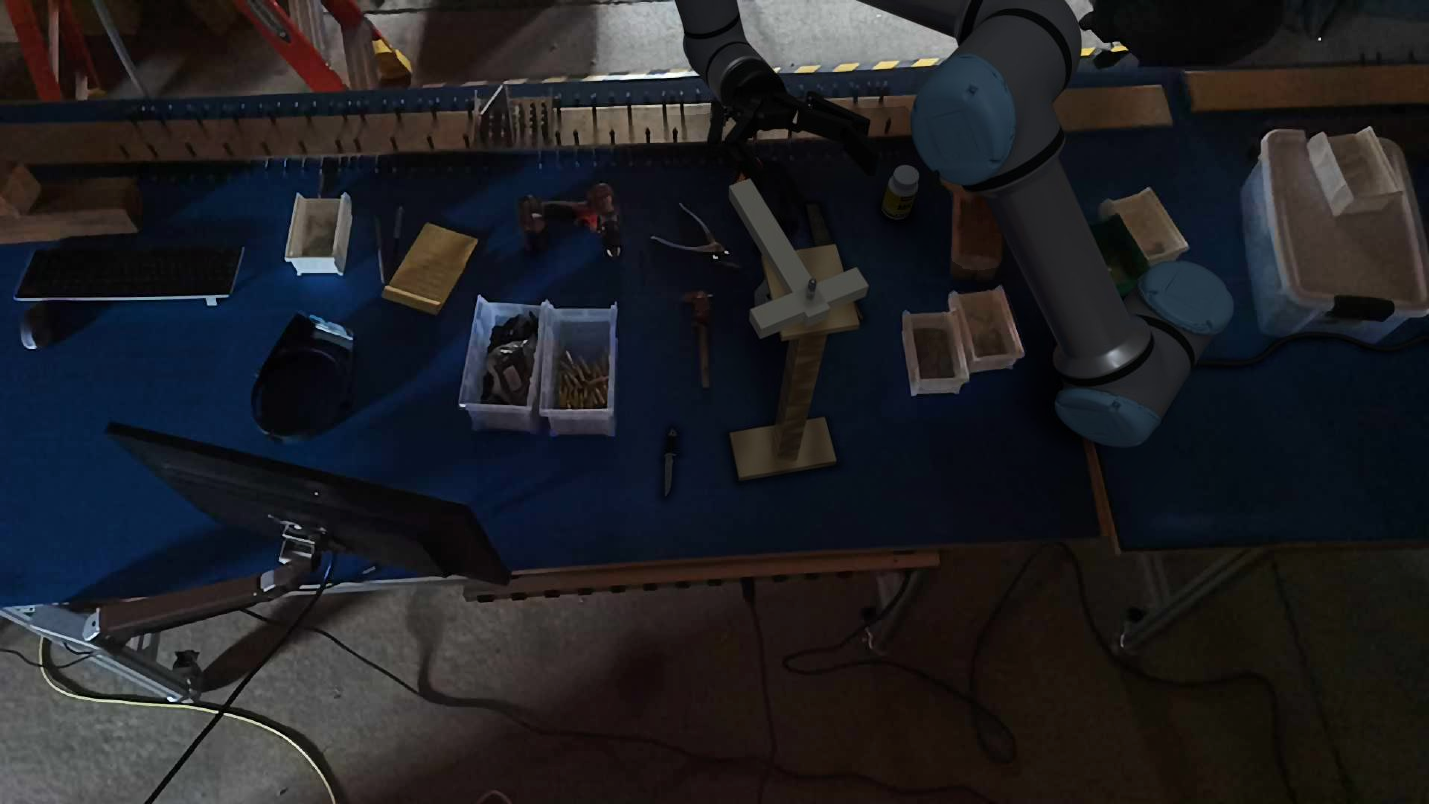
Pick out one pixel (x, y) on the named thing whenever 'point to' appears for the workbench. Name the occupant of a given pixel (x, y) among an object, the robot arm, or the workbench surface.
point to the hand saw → (821, 234)
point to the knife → (669, 460)
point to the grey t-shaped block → (789, 271)
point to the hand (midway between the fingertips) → (818, 173)
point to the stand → (796, 386)
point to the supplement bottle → (900, 192)
